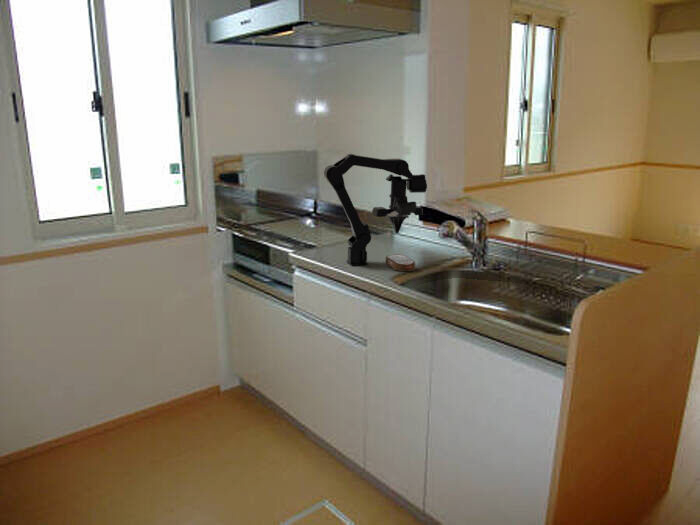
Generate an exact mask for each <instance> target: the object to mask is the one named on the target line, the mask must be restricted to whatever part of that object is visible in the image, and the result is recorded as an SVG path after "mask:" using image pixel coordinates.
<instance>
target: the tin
mask: <svg viewBox="0 0 700 525" xmlns="http://www.w3.org/2000/svg"><path fill="white" fill-rule="evenodd" d="M384 263H385V265H387V266H388V267H390V268H392V270H393V269H394V270H396V271H401V272H411V271H414V270H415V269H416V262H415V260H414V259H411V257H408V256H407V255H403V254H399V253H398V254H389V255H386V256H385V262H384Z"/></svg>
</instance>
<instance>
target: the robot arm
mask: <svg viewBox="0 0 700 525" xmlns="http://www.w3.org/2000/svg"><path fill="white" fill-rule="evenodd" d="M353 166H356V167H363V168H369V169H370V168H371V169H376V170H377V169H378V170H383V171H386V172H390V174H389V175H388V176H387V177H386V178H385V181H388V182H390V194H389V198H390V202H389V205H388V208H386V207H383V206H375V207H373V208H372V210H371V213H372V214H371V215H373V216H375V217H377V218H378V217H379V218H382V217H386V218H387V217H388V218H389V221H390V222H391V225H392V228H393V230H394V233H395V234H399V233H400V231H401V230H400V229H401V228H402V225H403V223H404V221H405V220H406V219H407V218H409V217H410V216H411V214H413V215H415V216H423V215H424V213H423V212H424V211H423V208H422V207H421V206H418V205H417V202H416V201H409V200H408V195H407V191H408V192H409V193H415V194H417V193H419V194H420V193H424V194H425V193H426V192H427V188H428V183H427V179H426V174H423V173H421V174H413V173H412V172H411V170H410V168H409V167H410V165H409V163H408V162H407V160H405V159H401V158H376V157H372V156H370V157H369V156H365V155H364V156H362V155H357V154H353V153H348V154H346V155H345V156H344V157H343V158H341V159H340V160H338V161H336V162H335V163H334V164H330V165H327V166H326V167H325V168H324V170H323V175H324V177H325V179H326V180H327V182H328V184H329V185H330V186H331V188H332V189H333V190H334V191H335V193H336V196H337V198H338V200H339V202H340V204H341V206H342V208H343V211H344V212H345V215H346V217H347V219H348V221H349V222H350V229H351V233H352V235H351V236H350V237H349V239H347V244H348V246H349V247H347V260H346V263H348V264H349V265H350V266H351V267H352V266H363V265H368V262H367V261H368V251H367V246H368V244H370V243H371V240H372V232H371V231H370V228H369V225H368V223H367V222H366V221H361V219H360V216H359V214H358V212H357V210H356V208H355V206H354V204H353V202H352V200H351V197H350V196H349V193H348V191H347V188H346V185H345V180H344V175H345V174H346V173H347V172H348V171H349V170H350V169H352V167H353ZM393 174H395V176H394V175H393ZM396 175H397V176H396ZM402 177H404V178H402Z"/></svg>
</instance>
